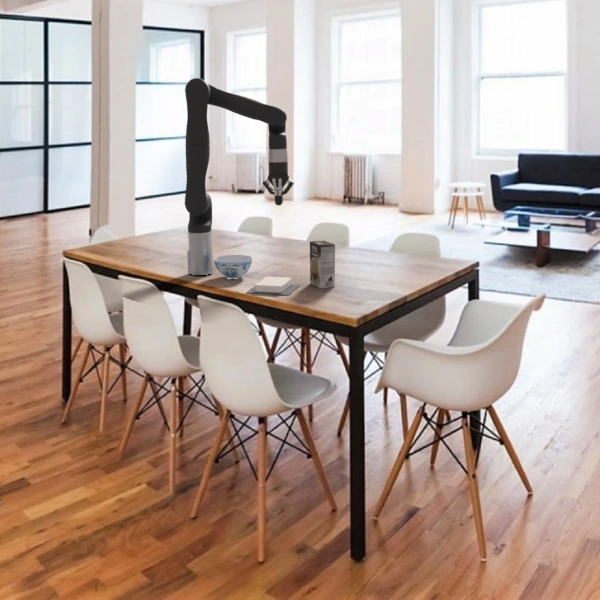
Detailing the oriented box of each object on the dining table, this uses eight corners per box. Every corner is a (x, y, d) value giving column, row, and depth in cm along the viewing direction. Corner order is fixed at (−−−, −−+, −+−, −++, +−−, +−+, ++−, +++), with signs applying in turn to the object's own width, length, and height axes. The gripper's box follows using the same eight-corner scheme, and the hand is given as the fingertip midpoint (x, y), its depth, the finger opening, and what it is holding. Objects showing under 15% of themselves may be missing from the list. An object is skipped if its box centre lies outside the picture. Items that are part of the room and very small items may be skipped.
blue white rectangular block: (266, 283, 272) (255, 292, 259) (266, 276, 272) (255, 284, 258) (292, 284, 270) (282, 293, 257) (292, 277, 269) (281, 286, 256)
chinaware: (206, 279, 281) (205, 260, 279) (228, 272, 294) (227, 253, 292) (239, 283, 274) (238, 263, 272) (259, 275, 287) (259, 256, 285)
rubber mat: (245, 293, 258) (245, 292, 258) (258, 284, 272) (258, 283, 272) (289, 295, 254) (289, 294, 254) (299, 286, 269) (299, 285, 268)
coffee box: (309, 283, 272) (309, 241, 268) (324, 282, 274) (324, 240, 270) (319, 288, 264) (319, 245, 260) (335, 287, 266) (335, 243, 262)
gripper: (258, 161, 280) (260, 206, 285) (291, 161, 277) (292, 206, 282) (264, 160, 287) (265, 203, 292) (296, 160, 284) (297, 204, 289)
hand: (278, 205), depth 287 cm, fingers closed
